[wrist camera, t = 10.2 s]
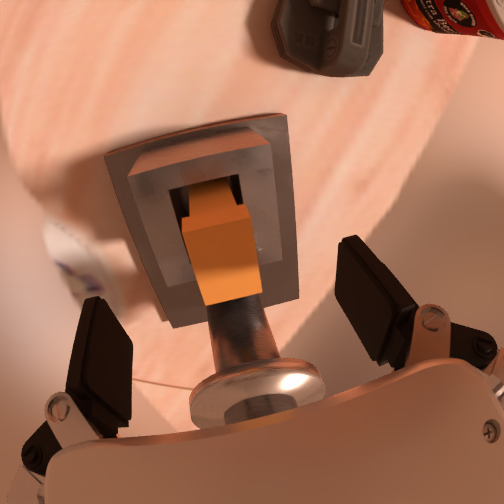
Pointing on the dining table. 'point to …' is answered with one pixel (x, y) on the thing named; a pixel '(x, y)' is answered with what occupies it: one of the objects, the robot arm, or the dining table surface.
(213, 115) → the dining table surface
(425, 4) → the canned food
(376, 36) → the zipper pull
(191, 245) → the orange tapered block
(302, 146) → the dining table surface
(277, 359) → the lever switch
